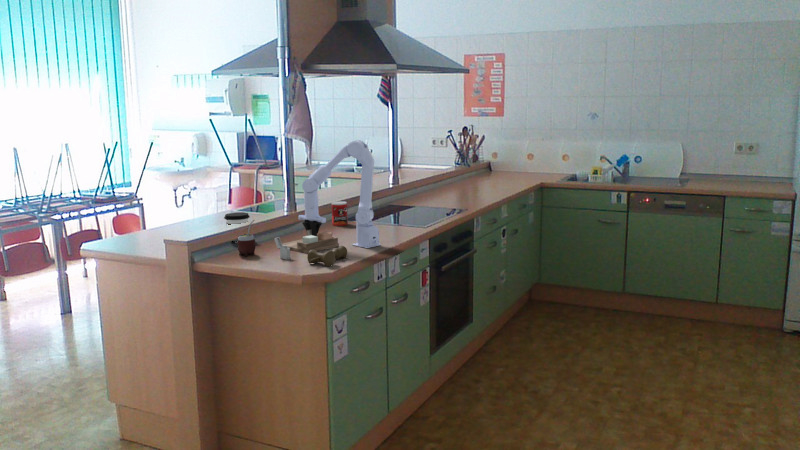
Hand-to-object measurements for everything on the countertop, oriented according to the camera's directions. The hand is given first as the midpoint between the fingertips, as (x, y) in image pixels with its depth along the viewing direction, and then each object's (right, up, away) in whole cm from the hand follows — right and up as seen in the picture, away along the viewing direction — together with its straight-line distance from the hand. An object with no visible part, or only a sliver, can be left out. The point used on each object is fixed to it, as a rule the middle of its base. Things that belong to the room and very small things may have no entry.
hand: (312, 237), depth 295 cm
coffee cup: (-34, -2, +11) cm, 36 cm away
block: (0, -4, -11) cm, 11 cm away
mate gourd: (-24, -7, -17) cm, 30 cm away
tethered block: (+3, -2, -3) cm, 5 cm away
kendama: (+10, -9, -32) cm, 34 cm away
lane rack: (-1, -4, -3) cm, 5 cm away
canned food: (+8, +5, +46) cm, 47 cm away
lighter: (-9, -8, -23) cm, 26 cm away
